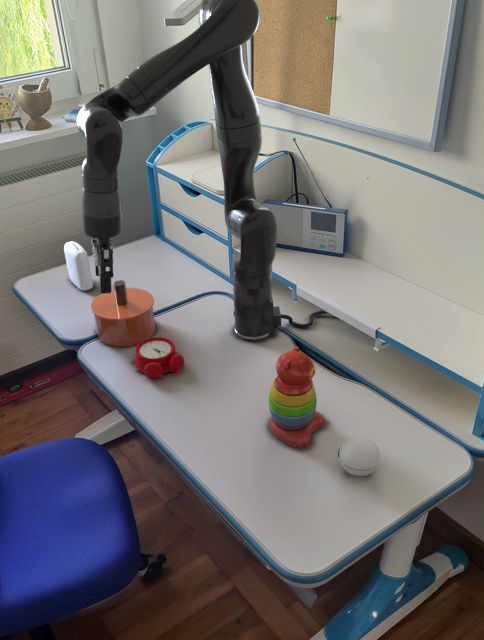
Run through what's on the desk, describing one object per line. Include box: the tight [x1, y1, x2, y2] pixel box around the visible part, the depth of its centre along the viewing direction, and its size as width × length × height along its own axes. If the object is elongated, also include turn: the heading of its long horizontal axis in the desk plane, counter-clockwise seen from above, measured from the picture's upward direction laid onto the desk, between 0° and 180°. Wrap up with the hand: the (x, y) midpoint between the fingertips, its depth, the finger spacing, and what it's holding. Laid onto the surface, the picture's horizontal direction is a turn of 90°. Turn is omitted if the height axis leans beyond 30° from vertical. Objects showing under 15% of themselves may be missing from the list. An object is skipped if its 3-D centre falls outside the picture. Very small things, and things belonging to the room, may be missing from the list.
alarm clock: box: [131, 334, 185, 380], centre depth 152 cm, size 10×6×15 cm
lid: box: [90, 279, 155, 321], centre depth 161 cm, size 16×16×7 cm
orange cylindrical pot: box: [93, 307, 156, 347], centre depth 165 cm, size 15×15×8 cm
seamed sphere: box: [337, 435, 381, 477], centre depth 119 cm, size 10×7×7 cm
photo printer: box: [63, 240, 94, 291], centre depth 186 cm, size 10×4×12 cm, turn 32°
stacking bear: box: [268, 346, 326, 449], centre depth 128 cm, size 11×10×18 cm
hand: (103, 283), depth 140 cm, fingers open, 8 cm apart
